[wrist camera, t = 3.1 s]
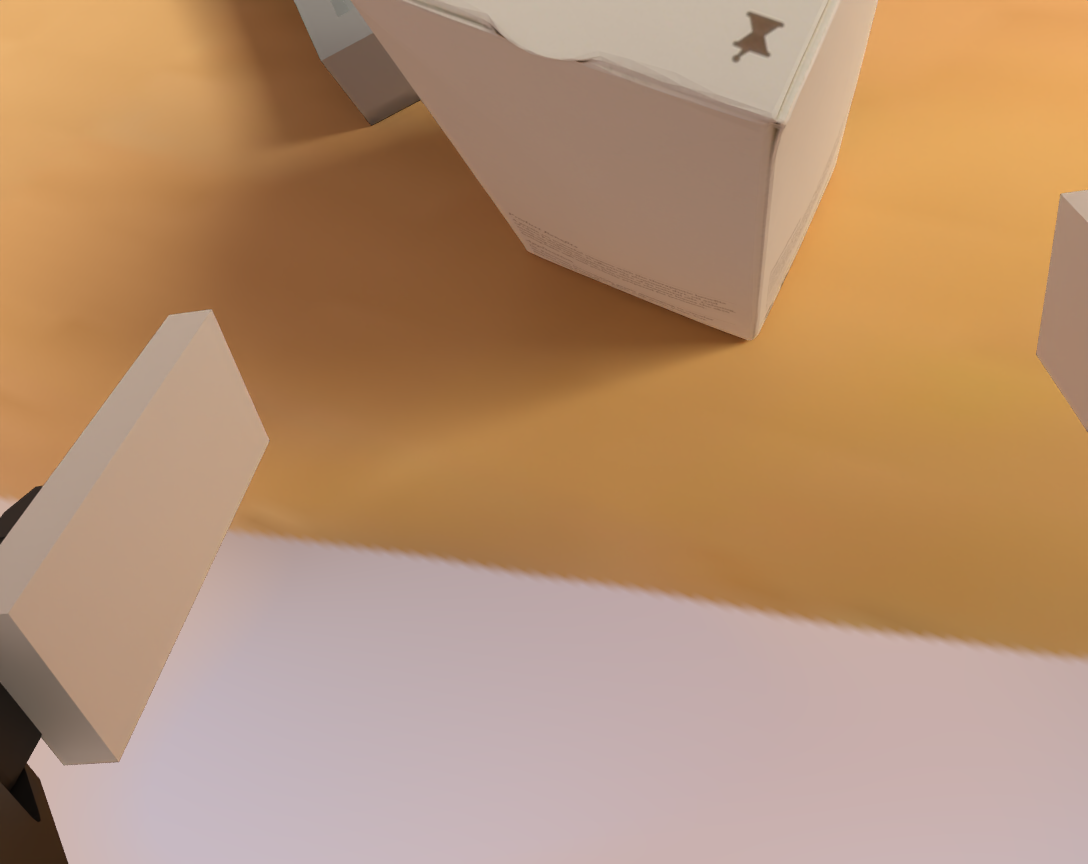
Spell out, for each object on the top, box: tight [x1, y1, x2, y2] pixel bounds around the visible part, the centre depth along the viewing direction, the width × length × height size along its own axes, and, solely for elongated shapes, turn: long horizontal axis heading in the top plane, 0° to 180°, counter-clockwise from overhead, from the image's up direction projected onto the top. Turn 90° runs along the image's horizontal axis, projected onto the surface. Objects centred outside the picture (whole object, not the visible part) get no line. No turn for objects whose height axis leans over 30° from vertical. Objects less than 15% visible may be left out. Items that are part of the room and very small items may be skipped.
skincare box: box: [350, 0, 878, 340], centre depth 22 cm, size 8×7×16 cm
